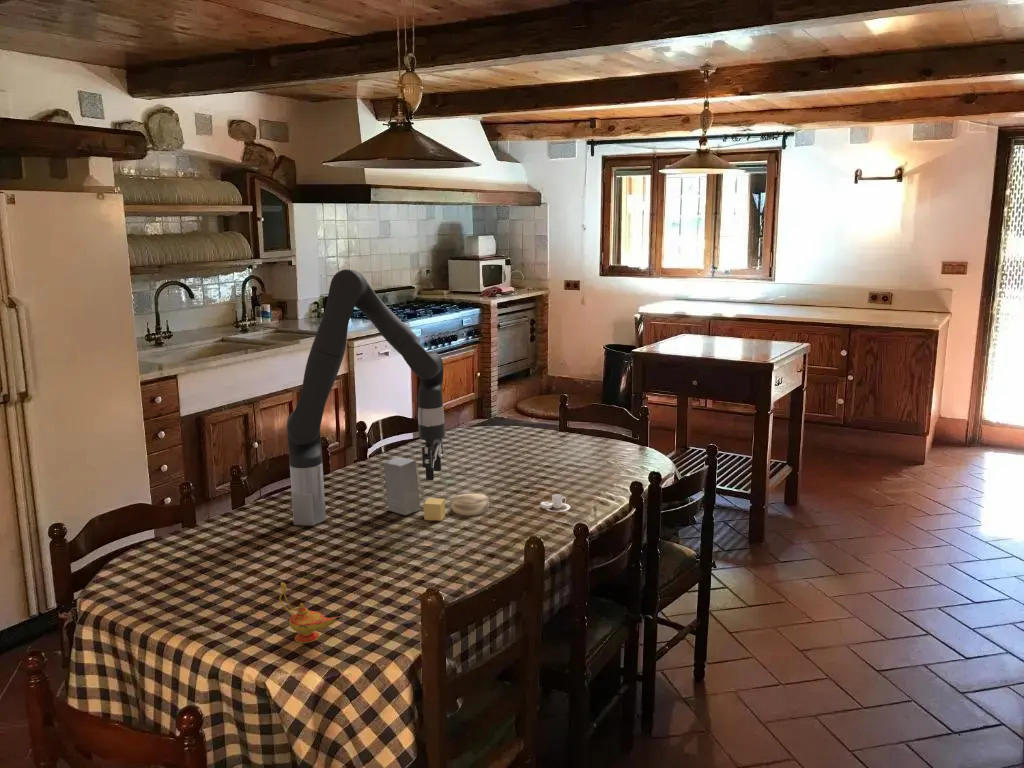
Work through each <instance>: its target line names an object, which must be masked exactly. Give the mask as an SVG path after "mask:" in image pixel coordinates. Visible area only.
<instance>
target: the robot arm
mask: <svg viewBox="0 0 1024 768" xmlns="http://www.w3.org/2000/svg"><path fill="white" fill-rule="evenodd" d="M326 300H327V301H326V305H325V309H324V312H323V316H322V317H321V320H320V323H319V325H318V329H317V331H316V334H315V336H314V339H313V343H312V345H311V347H310V351H309V353H308V357H307V360H306V364H305V369H304V375H303V380H302V386H301V393H300V395H299V399H298V401H297V404H296V406H295V408H294V410H293V411H292V412H291V413H289V415H288V417H287V420H286V432H287V444H288V445H287V446H288V459H289V471H290V472H289V474H290V486H291V487H290V488H291V489H290V490H291V501H292V502H291V507H292V519H293V525H295V526H311V527H312V526H315V525H316V524H321V523H322V522H324V521H325V520H326V519H327V515H326V514H327V513H326V497H325V484H324V469H323V468H324V467H323V466H324V465H323V464H324V463H323V451H322V437H321V425H322V421H323V417H324V416H323V415H324V411H325V407H326V403H327V400H328V399H329V398H328V397H329V395H330V393H331V391H332V389H333V387H334V384H335V382H336V378H337V376H338V373H339V370H340V368H341V365H342V363H343V360H344V356H345V352H346V347H347V342H348V341H347V340H348V329H349V328H348V327H349V324H350V320H351V317H352V314H353V312H354V309H355V308H356V309H357V310H359V311H360V312H362V313H363V314H364V315H365V317H367V318H368V319H369V321H370V322H371V323H372V324H373V326H375V328H376V329H377V331H378V332H379V334H380V335H381V336H382V337H383V338H384V340H385V341H387V343H388V344H389V345H391V347H392V348H393V349H394V350H395V351H396V352H397V353H399V354H400V355H401V357H402V358H403V359H404V361H405V363H406V364H407V366H408V367H409V368H410V370H411V371H412V372H413V373H414V374H415V375H416V376H417V377H418V378H419V379H420V381H419V383H420V384H419V388H418V390H417V403H418V405H417V406H418V408H417V421H418V424H417V425H418V436H419V439H421V440H424V441H425V444H424V446H422V447H421V457H422V458H421V459H422V464H421V465H422V469H423V468H425V480H426V481H434V479H435V472H441V470H442V458H443V455H444V446H443V439H444V438H445V436H446V429H445V427H446V424H445V411H444V404H443V382H444V381H443V379H444V361H443V359H442V358H443V357H441V356H440V355H441V354H439V353H437V352H435V351H427V350H426V349H425V347H423V345H421V341H420V338H419V337H418V336H417V335H416V333H415V332H414V331H412V329H410V328H409V327H408V326H407V325H406V324H405V323H404V321H402V320H401V318H399V317H398V315H396V314H395V313H394V312H393V311H392V310H391V309H390V308H389V307H388V306H387V305H386V304H385V303H384V302H383V300H381V298H380V297H379V296H378V295H377V294H376V292H375V291H374V289H373V288H372V287H371V285H370V283H369V282H368V281H367V279H366V278H365V276H364V275H363V274H362V273H361V272H359V271H356V270H353V269H348V268H347V269H341V270H339V271H338V272H336V273H335V275H333V276H332V278H331V280H330V284H329V289H328V295H327V299H326Z"/></svg>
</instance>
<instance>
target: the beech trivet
mask: <svg viewBox="0 0 1024 768" xmlns="http://www.w3.org/2000/svg"><path fill="white" fill-rule="evenodd" d="M489 501H490V499H489V497H488V496H487V495H484V494H481V493H462V494H458V495H456V496H454V497H453V498H452V500H451V504H452V505H451V506H452V507H451V508H452V512H453V513H454V514H457V515H461V516H476V515H482V514H485V513H487V512H488V511H489V510H488V509H490V508H489Z"/></svg>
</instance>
